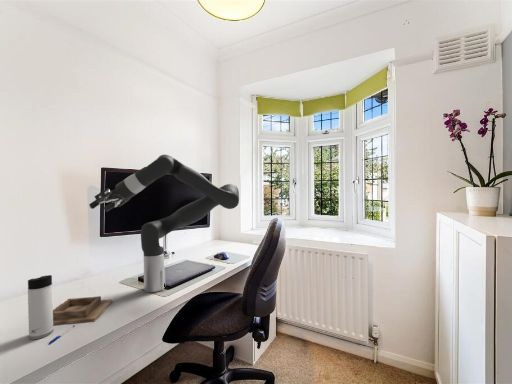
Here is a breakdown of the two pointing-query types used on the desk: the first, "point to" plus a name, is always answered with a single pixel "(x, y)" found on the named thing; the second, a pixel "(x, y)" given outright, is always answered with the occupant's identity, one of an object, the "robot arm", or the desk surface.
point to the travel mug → (40, 307)
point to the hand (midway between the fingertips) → (98, 208)
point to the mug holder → (79, 310)
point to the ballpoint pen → (60, 335)
